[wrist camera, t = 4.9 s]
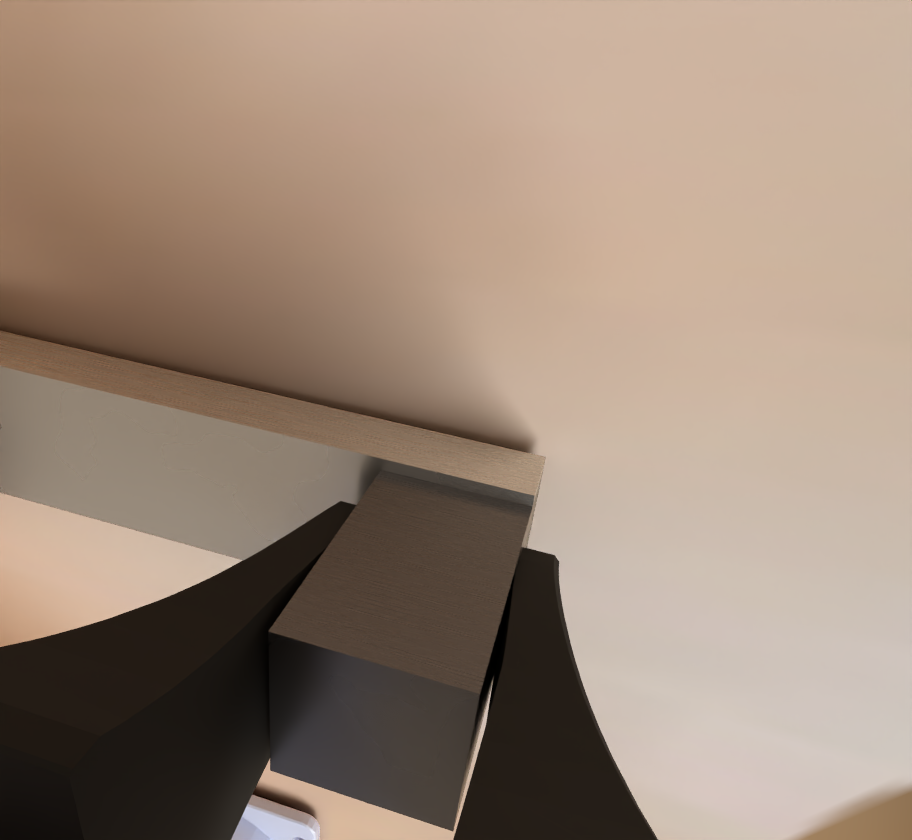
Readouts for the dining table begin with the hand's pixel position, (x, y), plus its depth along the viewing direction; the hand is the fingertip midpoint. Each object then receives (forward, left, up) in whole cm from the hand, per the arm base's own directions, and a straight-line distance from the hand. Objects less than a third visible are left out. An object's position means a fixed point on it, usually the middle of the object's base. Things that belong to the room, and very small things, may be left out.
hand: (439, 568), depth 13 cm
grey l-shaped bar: (0, +11, -2) cm, 11 cm away
